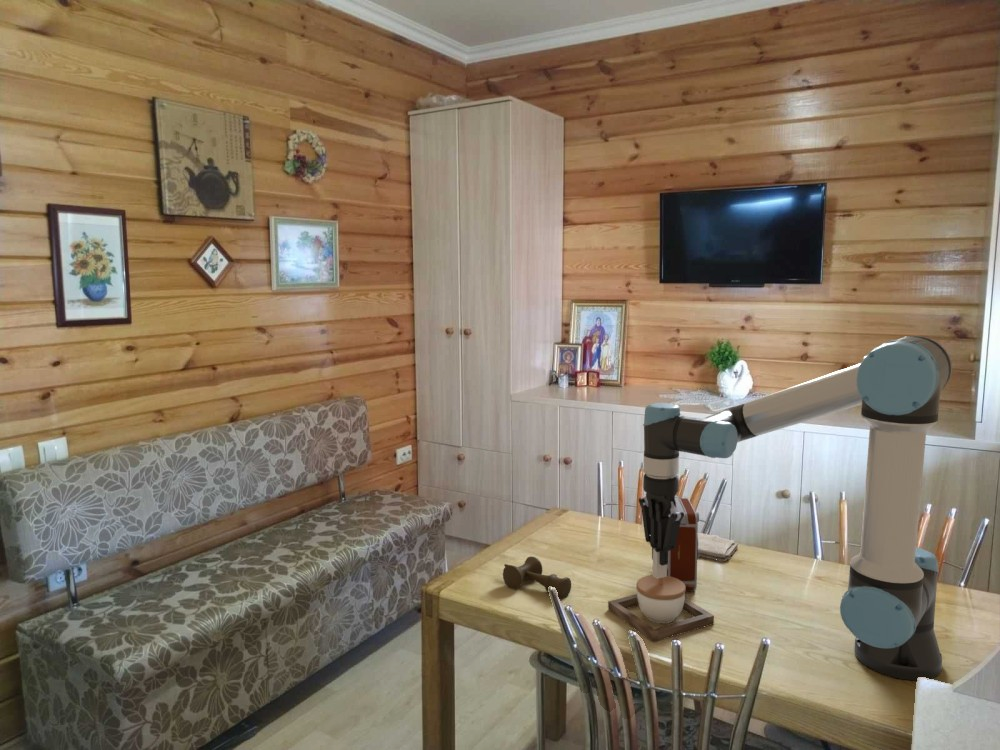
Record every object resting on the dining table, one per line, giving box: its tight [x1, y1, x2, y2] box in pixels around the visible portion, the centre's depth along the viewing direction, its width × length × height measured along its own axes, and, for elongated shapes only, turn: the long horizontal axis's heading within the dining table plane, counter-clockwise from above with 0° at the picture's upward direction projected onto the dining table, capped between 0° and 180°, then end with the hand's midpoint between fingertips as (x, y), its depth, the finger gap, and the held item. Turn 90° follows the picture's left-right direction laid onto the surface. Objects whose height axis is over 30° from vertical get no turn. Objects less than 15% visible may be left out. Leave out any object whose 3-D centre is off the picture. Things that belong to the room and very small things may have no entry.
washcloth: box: [698, 532, 739, 562], centre depth 199 cm, size 12×18×3 cm, turn 58°
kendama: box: [502, 555, 572, 599], centre depth 179 cm, size 6×10×20 cm
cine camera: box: [667, 495, 700, 592], centre depth 181 cm, size 9×19×20 cm, turn 174°
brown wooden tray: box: [607, 593, 715, 643], centre depth 162 cm, size 16×16×2 cm
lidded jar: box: [636, 574, 686, 624], centre depth 161 cm, size 11×11×9 cm
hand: (659, 576), depth 160 cm, fingers closed
